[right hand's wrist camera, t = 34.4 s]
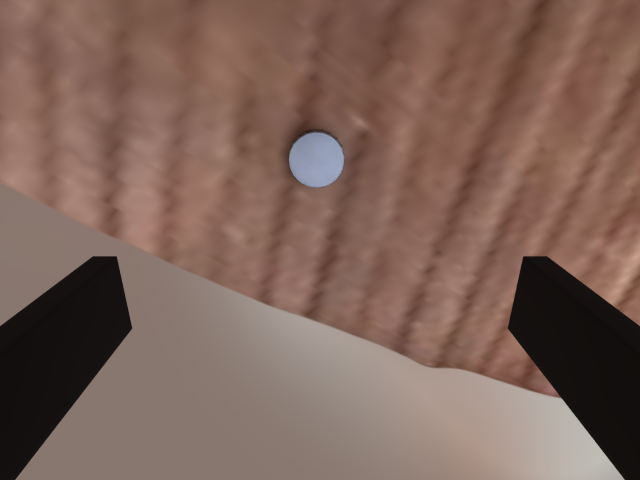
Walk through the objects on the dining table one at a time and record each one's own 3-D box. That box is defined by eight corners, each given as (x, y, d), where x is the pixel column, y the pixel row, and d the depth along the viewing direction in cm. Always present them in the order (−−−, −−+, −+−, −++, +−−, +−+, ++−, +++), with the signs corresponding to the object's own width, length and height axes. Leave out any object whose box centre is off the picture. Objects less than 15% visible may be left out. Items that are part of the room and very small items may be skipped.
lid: (339, 124, 36) (340, 126, 34) (347, 178, 38) (348, 184, 36) (285, 133, 37) (283, 136, 35) (295, 186, 39) (293, 192, 37)
